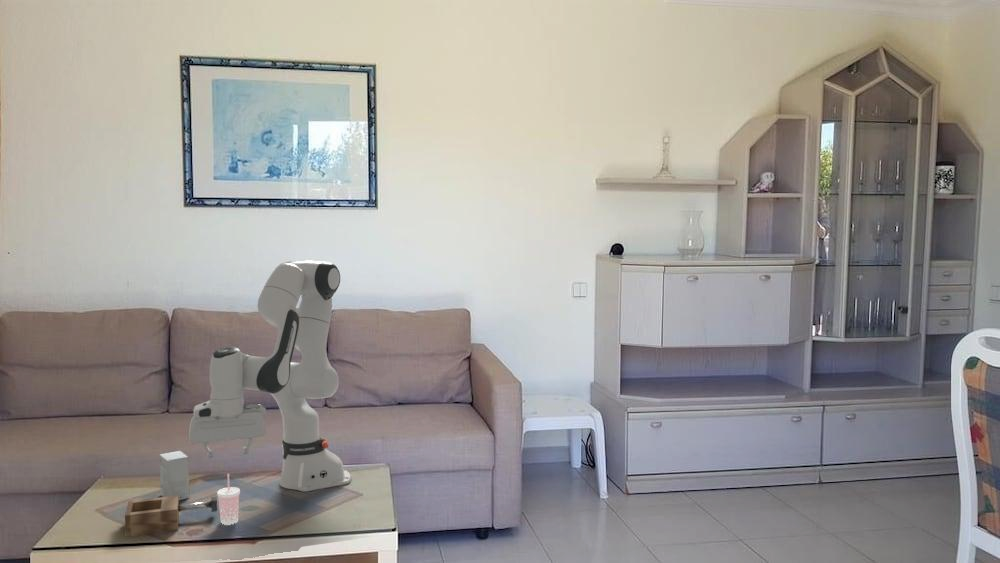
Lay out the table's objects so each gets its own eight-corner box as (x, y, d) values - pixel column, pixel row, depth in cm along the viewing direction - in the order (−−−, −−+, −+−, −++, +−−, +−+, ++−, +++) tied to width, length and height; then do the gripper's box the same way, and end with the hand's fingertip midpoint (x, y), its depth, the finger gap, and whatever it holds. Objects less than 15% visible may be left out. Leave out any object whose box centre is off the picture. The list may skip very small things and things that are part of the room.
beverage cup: (242, 524, 220) (241, 475, 219) (219, 527, 217) (217, 478, 216) (239, 515, 225) (238, 468, 224) (216, 519, 223) (215, 471, 221)
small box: (190, 498, 239) (188, 456, 238) (168, 503, 235) (167, 460, 234) (181, 490, 245) (180, 450, 244) (160, 495, 241) (158, 454, 240)
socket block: (179, 515, 225) (178, 495, 225) (177, 530, 215) (177, 509, 215) (129, 521, 221) (128, 501, 220) (125, 537, 211) (124, 515, 210)
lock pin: (216, 507, 227) (216, 496, 227) (217, 511, 224) (216, 500, 224) (169, 512, 223) (168, 501, 222) (168, 516, 220) (168, 505, 219)
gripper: (264, 401, 225) (265, 448, 226) (188, 407, 218) (189, 455, 219) (267, 406, 219) (267, 454, 220) (188, 412, 212) (189, 462, 213)
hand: (228, 455), depth 220 cm, fingers open, 8 cm apart
